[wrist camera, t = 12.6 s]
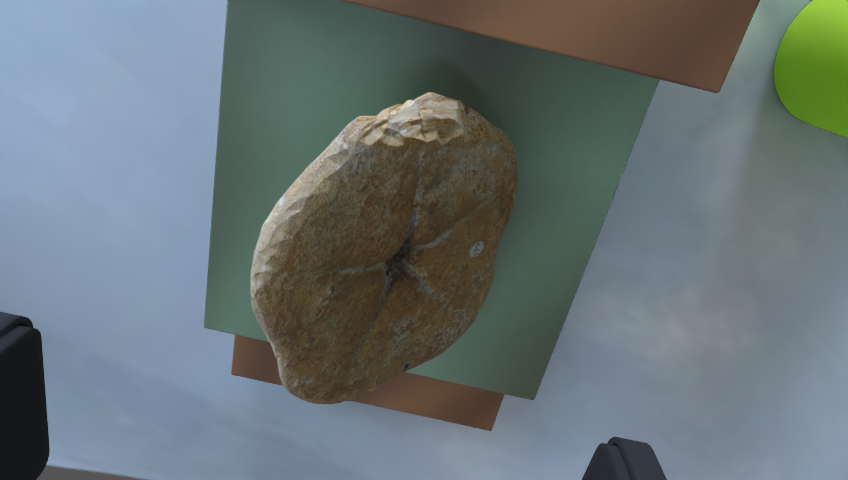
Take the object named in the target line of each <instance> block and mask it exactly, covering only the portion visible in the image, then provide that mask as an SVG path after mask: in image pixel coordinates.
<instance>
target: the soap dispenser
mask: <svg viewBox="0 0 848 480" xmlns="http://www.w3.org/2000/svg"><path fill="white" fill-rule="evenodd" d="M774 81H775V87H776V90H777V93H778V96H779V98H780V100H781V102H782V104H783V105H784V106H785V108H786V109H787V110H788V111H789V112H790V113H791V114H792V115H793V116H795V117H796V118H798V119H799V120H801V121H803V122H805V123H808V124H811V125H813V126H816V127H819V128H822V129H824V130H827V131H830V132H833V133H836V134H838V135H841V136H844V137H847V138H848V0H812V1H811V2H810V3H809V4H808V5H807V6H806V7H805V8H804V9H803V10H802V11H801V12H800V13H799V14H798V15H797V16H796V18H795V19H794V20H793V22H792V23H791V24H790V26H789V27H788V29H787V31H786V32H785V34H784V36H783V38H782V40H781V43H780V45H779V48H778V51H777V54H776V59H775V65H774Z"/></svg>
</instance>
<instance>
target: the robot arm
mask: <svg viewBox="0 0 848 480" xmlns="http://www.w3.org/2000/svg"><path fill="white" fill-rule="evenodd" d="M48 457H49V436H48V422H47V409H46V395H45V381H44V367H43V354H42V340H41V334H40V332H39V330H38V329H35V328H33V324H32V322H31V320H30V319H29V318H26V317H23V316H18V315H13V314H8V313H3V312H0V480H36V479H37V478H38V477H39V475H40V474H41V472H42V471H43V469H44V468H45V466H46V463H47V461H48ZM582 480H667V479H666V477H665V475H664V473H663V471H662V468H661V466H660V464H659V462H658V460H657V458H656V455H655V453H654V451H653V449H652V448H651V446H650V445H648V444H647V443H643V442H638V441H633V440H629V439H624V438H619V437H613V438H611V439H610V440H609V441H608V443H607V444H604V443H601V444H600V445H599V446H598V447H597V449H596V451H595V453H594V455H593V457H592V459H591V461H590V464H589V466H588V468H587V470H586V472H585V474H584V476H583V478H582Z"/></svg>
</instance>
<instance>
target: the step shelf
mask: <svg viewBox="0 0 848 480" xmlns="http://www.w3.org/2000/svg"><path fill="white" fill-rule="evenodd" d="M759 1H760V0H227V10H226V24H225V38H224V52H223V66H222V80H221V94H220V108H219V122H218V136H217V150H216V164H215V178H214V192H213V206H212V220H211V234H210V248H209V262H208V276H207V290H206V304H205V318H204V327H205V328H208V329H213V330H218V331H222V332H227V333H231V334H235V341H234V351H233V361H232V371H231V374H232V375H236V376H241V377H246V378H250V379H255V380H259V381H264V382H269V383H273V384H278V385H282V386H284V385H283V384H282V381H281V379H280V375H279V369H278V362H277V359H276V357H275V356H274V351H273V349H272V346H271V344H270V342H268V341H267V338H266V335H265V333H264V332H263V330H262V329H261V327H260V326H259V324H258V321H257V319H256V317H255V314H254V312H253V309H252V305H251V289H250V284H251V269H252V263H253V256H254V251H255V248H256V245H257V242H258V239H259V236H260V232H261V229H262V226H263V224H264V222H265V221H266V219H267V218H268V216H269V215H270V213H271V211H272V210H273V208H274V207H275V205H276V203H277V202H278V201H279V199H280V198H281V197H282V196H283V195H284V193H285V192H286V191H287V190H288V189H289V187H290V186H291V185H292V184H293V183H294V182H295V181H296V179H297V178H298V177H299V176H300V175H301V174H302V173H303V172H304V171H305V169H306V168H307V167H308V166H309V165H310V164H311V163H312V162H313V161H314V160H315V159H316V158H317V157H319V156H320V155H321V154H322V153H323V152H324V150H325V149H326V148H327V147H328V146H329V145H330V143H331V142H332V141H333V140H334V139H335V138H336V137H337V136H338V135H339V134H340V133H341V132H342V130H343V129H344V128H345V127H346V126H347V125H348V124H349V123H351V122H352V121H353V120H355V119H356V118H357V117H359V116H377V115H378V114H379V113H380V112H381V111H382V110H384V109H386V108H389V107H392V106H394V105H397V104H404V103H405V102H406V101H407V100H415V99H416V98H418V97H420V96H422V95H424V94H426V93H428V92H433V93H436V94H439V95H442V96H445V97H448V98H452V99H456V100H460V101H461V102H462V103H463V104H465V105H467V106H469V107H470V108H472V109H474V110H475V111H477V112H478V113H479V114H480V115H482V116H483V117H484V118H485V119H487V120H489V121H490V122H491V123H493V124H494V125H496V126H497V127H499V128H500V129H501V130H502V131H503V132H504V133H505V134H506V135H507V137H508V138H509V139H510V141H511V142H512V144H513V146H514V148H515V155H516V158H517V160H518V188H517V194H516V198H515V203H514V207H513V211H512V215H511V217H510V219H509V221H508V224H507V226H506V228H505V230H504V232H503V234H502V236H501V239H500V242H499V245H498V249H497V254H496V261H495V267H494V278H493V281H492V286H491V288H490V290H489V292H488V295H487V298H486V300H485V303H484V304H483V306H482V307H481V308H480V310H479V312H478V315H477V317H476V319H475V321H474V323H473V324H472V325H471V326H470V327H469V328H468V329H467V330H466V331H465V333H464V334H463V335H462V336H461V337H460V338H459V339H458V340H457V341H456V342H454V343H453V344H452V345H451V346H450V347H449V348H448V349H447V350H445V351H444V352H443V353H442V354H441V355H439V356H437V357H435V358H433V359H431V360H429V361H427V362H425V363H423V364H421V365H419V366H417V367H415V368H412V369H410V370H408V371H405V372H403V373H401V374H399V375H397V376H396V377H394V378H392V379H390V380H388V381H387V382H385V383H384V384H382V385H381V386H380V387H378V388H377V389H375V390H373V391H367V392H364V393H363V394H362V395H361V397H359V398H357V399H353V400H351V401H356V402H360V403H365V404H370V405H374V406H379V407H383V408H388V409H393V410H397V411H402V412H406V413H411V414H415V415H420V416H425V417H429V418H434V419H438V420H443V421H448V422H452V423H457V424H461V425H466V426H471V427H475V428H480V429H484V430H489V431H491V430H492V427H493V425H494V422H495V419H496V416H497V414H498V411H499V408H500V405H501V402H502V400H503V397H504V394H507V395H512V396H516V397H521V398H525V399H530V400H534V398H535V396H536V393H537V391H538V388H539V385H540V383H541V380H542V378H543V375H544V373H545V370H546V368H547V365H548V362H549V360H550V357H551V355H552V352H553V350H554V347H555V345H556V342H557V340H558V337H559V334H560V332H561V329H562V327H563V324H564V322H565V319H566V317H567V314H568V311H569V309H570V306H571V304H572V301H573V299H574V296H575V294H576V291H577V288H578V286H579V283H580V281H581V278H582V276H583V273H584V271H585V268H586V265H587V263H588V260H589V258H590V255H591V253H592V250H593V248H594V245H595V243H596V240H597V237H598V235H599V232H600V230H601V227H602V225H603V222H604V220H605V217H606V214H607V212H608V209H609V207H610V204H611V202H612V199H613V197H614V194H615V191H616V189H617V186H618V184H619V181H620V179H621V176H622V174H623V171H624V168H625V166H626V163H627V161H628V158H629V156H630V153H631V151H632V148H633V145H634V143H635V140H636V138H637V135H638V133H639V130H640V128H641V125H642V123H643V120H644V117H645V115H646V112H647V110H648V107H649V105H650V102H651V100H652V97H653V94H654V92H655V89H656V87H657V84H658V82H659V79H661V80H665V81H669V82H673V83H677V84H681V85H685V86H689V87H693V88H697V89H701V90H705V91H709V92H713V93H718V92H719V91H720V89H721V87H722V85H723V83H724V80H725V78H726V76H727V74H728V71H729V69H730V67H731V64H732V62H733V60H734V58H735V55H736V53H737V51H738V48H739V46H740V44H741V42H742V39H743V37H744V35H745V33H746V30H747V28H748V26H749V23H750V21H751V19H752V17H753V14H754V12H755V10H756V8H757V5H758V3H759Z"/></svg>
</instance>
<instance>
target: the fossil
mask: <svg viewBox="0 0 848 480" xmlns="http://www.w3.org/2000/svg"><path fill="white" fill-rule="evenodd" d="M517 188H518V160H517V158H516V155H515V148H514V146H513V144H512V142H511V141H510V139H509V138H508V137H507V135H506V134H505V133H504V132H503V131H502V130H501V129H500V128H499V127H497V126H496V125H494V124H493V123H491V122H490V121H489V120H487V119H485V118H484V117H483V116H482V115H480V114H479V113H478V112H477V111H475V110H474V109H472V108H470V107H469V106H467V105H465V104H463V103H462V102H461V101H460V100H456V99H452V98H448V97H445V96H442V95H439V94H436V93H433V92H428V93H426V94H424V95H422V96H420V97H418V98H416V99H415V100H407V101H406V102H405V103H404V104H397V105H394V106H392V107H389V108H386V109H384V110H382V111H381V112H380V113H379V114H378V115H377V116H359V117H357V118H356V119H355V120H353V121H352V122H351V123H349V124H348V125H347V126H346V127H345V128H344V129H343V130H342V132H341V133H340V134H339V135H338V136H337V137H336V138H335V139H334V140H333V141H332V142H331V143H330V145H329V146H328V147H327V148H326V149H325V150H324V152H323V153H322V154H321V155H320V156H319V157H317V158H316V159H315V160H314V161H313V162H312V163H311V164H310V165H309V166H308V167H307V168H306V169H305V171H304V172H303V173H302V174H301V175H300V176H299V177H298V178H297V179H296V181H295V182H294V183H293V184H292V185H291V186H290V187H289V189H288V190H287V191H286V192H285V193H284V195H283V196H282V197H281V198H280V199H279V201H278V202H277V203H276V205H275V207H274V208H273V210H272V211H271V213H270V215H269V216H268V218H267V219H266V221H265V222H264V224H263V226H262V229H261V232H260V236H259V239H258V242H257V245H256V248H255V251H254V256H253V263H252V269H251V284H250V289H251V305H252V309H253V312H254V314H255V317H256V319H257V321H258V324H259V326H260V327H261V329H262V330H263V332H264V333H265V335H266V338H267V341H268V342H270V344H271V346H272V349H273V351H274V356H275V357H276V359H277V362H278V369H279V375H280V379H281V381H282V384H283V385H284V386H285V388H286V389H287V390H288V391H289V392H290V393H291V394H293V395H294V396H296V397H298V398H300V399H302V400H305V401H307V402H312V403H316V404H334V403H340V402H342V401H350V400H353V399H357V398H359V397H361V395H362V394H363V393H364V392H367V391H373V390H375V389H377V388H378V387H380V386H381V385H382V384H384V383H385V382H387V381H388V380H390V379H392V378H394V377H396V376H397V375H399V374H401V373H403V372H405V371H408V370H410V369H412V368H415V367H417V366H419V365H421V364H423V363H425V362H427V361H429V360H431V359H433V358H435V357H437V356H439V355H441V354H442V353H443V352H444V351H445V350H447V349H448V348H449V347H450V346H451V345H452V344H453V343H454V342H456V341H457V340H458V339H459V338H460V337H461V336H462V335H463V334H464V333H465V331H466V330H467V329H468V328H469V327H470V326H471V325H472V324H473V323H474V321H475V319H476V317H477V315H478V312H479V310H480V308H481V307H482V306H483V304H484V303H485V300H486V298H487V295H488V292H489V290H490V288H491V286H492V281H493V278H494V267H495V261H496V254H497V249H498V245H499V242H500V239H501V236H502V234H503V232H504V230H505V228H506V226H507V224H508V221H509V219H510V217H511V215H512V211H513V207H514V203H515V198H516V194H517Z"/></svg>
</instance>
